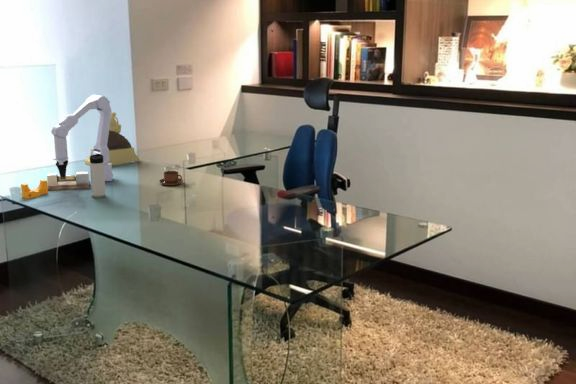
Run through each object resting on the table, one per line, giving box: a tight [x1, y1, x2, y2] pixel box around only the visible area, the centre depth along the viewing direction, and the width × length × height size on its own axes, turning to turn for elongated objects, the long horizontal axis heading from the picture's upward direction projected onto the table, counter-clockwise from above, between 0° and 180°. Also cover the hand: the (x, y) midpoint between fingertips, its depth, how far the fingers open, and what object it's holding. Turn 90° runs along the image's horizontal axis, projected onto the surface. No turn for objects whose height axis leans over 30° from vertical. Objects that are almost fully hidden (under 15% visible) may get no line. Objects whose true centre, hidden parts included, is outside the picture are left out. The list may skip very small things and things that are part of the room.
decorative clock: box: [84, 111, 141, 167], centre depth 373 cm, size 28×13×30 cm, turn 130°
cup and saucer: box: [159, 170, 184, 186], centre depth 332 cm, size 12×12×6 cm
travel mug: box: [89, 154, 107, 199], centre depth 305 cm, size 6×7×20 cm
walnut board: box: [47, 181, 90, 192], centre depth 324 cm, size 21×14×1 cm, turn 105°
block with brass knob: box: [57, 173, 76, 182], centre depth 323 cm, size 14×3×7 cm, turn 105°
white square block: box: [46, 172, 58, 186], centre depth 321 cm, size 4×5×6 cm
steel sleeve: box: [75, 171, 90, 186], centre depth 325 cm, size 6×5×6 cm
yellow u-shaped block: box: [20, 179, 49, 200], centre depth 306 cm, size 12×4×6 cm, turn 143°
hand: (63, 175), depth 322 cm, fingers closed on block with brass knob, 3 cm apart
